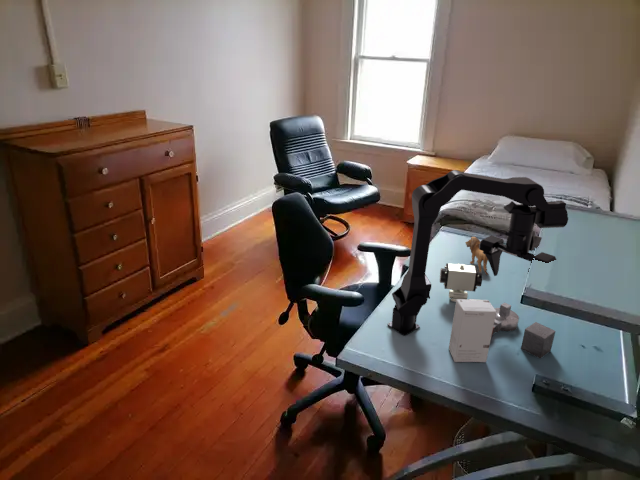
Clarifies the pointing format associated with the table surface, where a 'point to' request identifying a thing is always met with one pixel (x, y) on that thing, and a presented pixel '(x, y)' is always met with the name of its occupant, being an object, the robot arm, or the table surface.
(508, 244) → the robot arm
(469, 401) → the table surface
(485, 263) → the lion figurine
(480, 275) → the pneumatic valve
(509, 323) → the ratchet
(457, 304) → the skincare box
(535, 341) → the brushed metal block
